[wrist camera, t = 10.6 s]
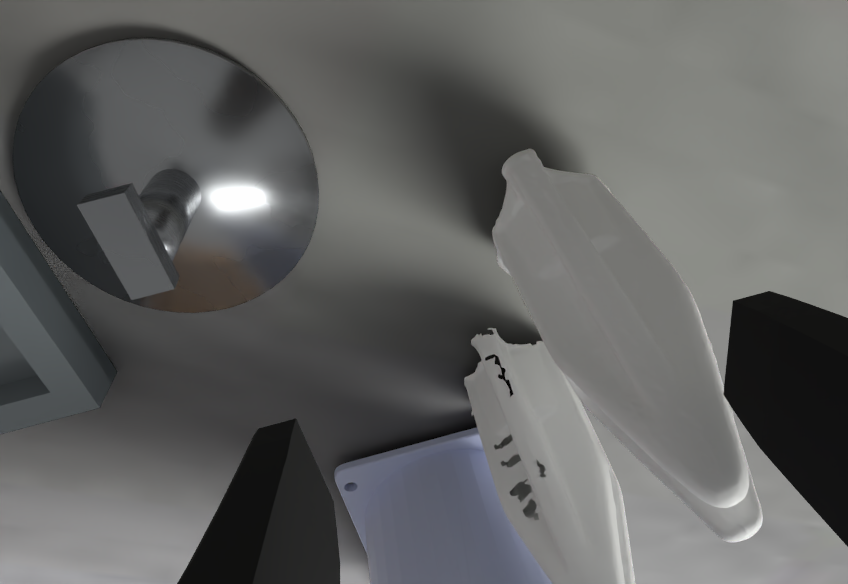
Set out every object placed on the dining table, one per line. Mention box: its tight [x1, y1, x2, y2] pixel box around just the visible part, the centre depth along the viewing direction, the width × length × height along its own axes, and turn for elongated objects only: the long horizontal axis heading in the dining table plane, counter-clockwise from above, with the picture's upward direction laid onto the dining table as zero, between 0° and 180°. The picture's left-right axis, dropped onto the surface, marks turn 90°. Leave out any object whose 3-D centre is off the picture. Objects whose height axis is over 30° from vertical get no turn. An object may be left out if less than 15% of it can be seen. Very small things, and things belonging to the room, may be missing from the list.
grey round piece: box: [13, 38, 319, 313], centre depth 15 cm, size 8×8×5 cm
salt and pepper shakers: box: [464, 149, 763, 584], centre depth 16 cm, size 12×4×11 cm, turn 177°
